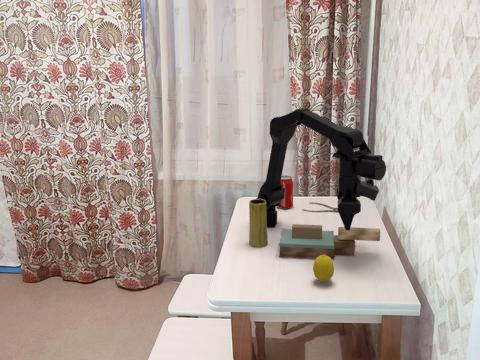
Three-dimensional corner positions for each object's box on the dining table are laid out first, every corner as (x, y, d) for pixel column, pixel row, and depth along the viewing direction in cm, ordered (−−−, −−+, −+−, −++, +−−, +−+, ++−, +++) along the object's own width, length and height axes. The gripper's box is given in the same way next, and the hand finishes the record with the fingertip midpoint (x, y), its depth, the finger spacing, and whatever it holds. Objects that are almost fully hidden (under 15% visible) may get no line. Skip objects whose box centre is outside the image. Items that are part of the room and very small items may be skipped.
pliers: (305, 201, 188) (357, 204, 182) (305, 203, 188) (357, 206, 183) (301, 210, 179) (356, 213, 174) (301, 212, 179) (356, 215, 174)
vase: (270, 241, 154) (270, 199, 150) (263, 248, 148) (263, 205, 144) (253, 238, 156) (252, 197, 152) (245, 245, 151) (244, 203, 147)
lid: (279, 248, 142) (279, 232, 140) (282, 234, 152) (282, 218, 150) (333, 251, 139) (334, 234, 137) (333, 236, 149) (333, 220, 148)
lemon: (310, 277, 130) (311, 250, 128) (330, 276, 130) (331, 249, 128) (315, 287, 125) (316, 260, 122) (336, 286, 125) (337, 258, 123)
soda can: (274, 205, 186) (274, 175, 182) (289, 203, 187) (289, 174, 184) (279, 210, 180) (279, 180, 177) (295, 208, 181) (295, 178, 178)
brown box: (279, 257, 142) (279, 243, 141) (282, 242, 153) (282, 229, 151) (355, 260, 139) (355, 247, 137) (353, 245, 149) (353, 232, 148)
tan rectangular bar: (338, 239, 142) (338, 230, 141) (338, 236, 144) (338, 226, 144) (379, 241, 140) (380, 231, 139) (378, 237, 142) (379, 228, 141)
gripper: (381, 183, 127) (378, 238, 131) (374, 165, 144) (372, 214, 149) (338, 183, 129) (337, 236, 133) (337, 165, 146) (335, 212, 151)
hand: (347, 224), depth 141 cm, fingers open, 9 cm apart
